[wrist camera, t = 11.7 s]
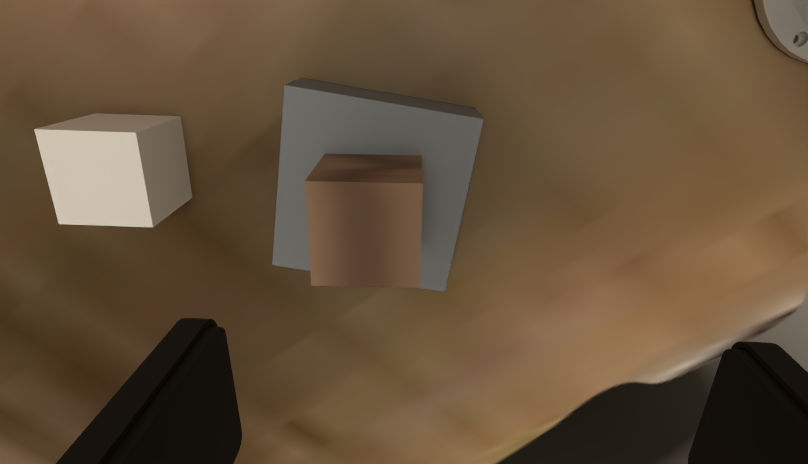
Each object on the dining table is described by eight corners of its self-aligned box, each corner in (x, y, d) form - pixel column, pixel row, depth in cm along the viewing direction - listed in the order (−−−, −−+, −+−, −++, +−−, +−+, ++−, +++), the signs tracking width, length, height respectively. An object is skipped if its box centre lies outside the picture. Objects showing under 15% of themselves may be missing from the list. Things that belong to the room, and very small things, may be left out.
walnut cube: (421, 155, 30) (423, 183, 24) (418, 243, 32) (419, 287, 27) (324, 153, 30) (304, 181, 24) (328, 242, 32) (311, 285, 27)
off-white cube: (181, 116, 34) (135, 132, 28) (192, 197, 36) (153, 227, 31) (95, 113, 34) (34, 129, 28) (112, 194, 36) (59, 223, 31)
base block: (474, 107, 34) (483, 119, 29) (440, 260, 38) (444, 291, 34) (302, 77, 33) (284, 85, 28) (289, 236, 38) (272, 264, 33)
